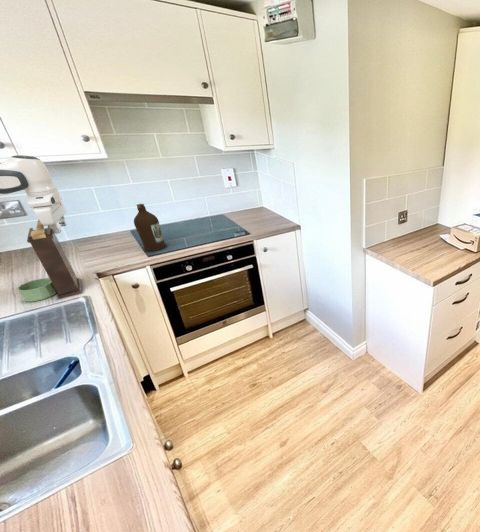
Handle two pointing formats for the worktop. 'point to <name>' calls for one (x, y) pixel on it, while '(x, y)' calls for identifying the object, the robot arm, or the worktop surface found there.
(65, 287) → the dark wood pillar
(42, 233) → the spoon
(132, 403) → the worktop surface
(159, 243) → the olive oil
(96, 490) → the worktop surface
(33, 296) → the bowl
